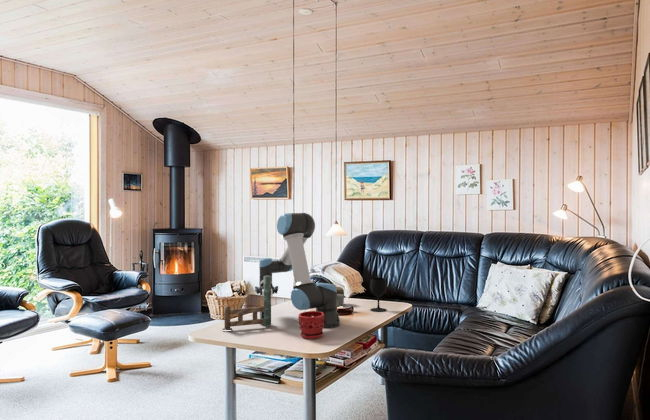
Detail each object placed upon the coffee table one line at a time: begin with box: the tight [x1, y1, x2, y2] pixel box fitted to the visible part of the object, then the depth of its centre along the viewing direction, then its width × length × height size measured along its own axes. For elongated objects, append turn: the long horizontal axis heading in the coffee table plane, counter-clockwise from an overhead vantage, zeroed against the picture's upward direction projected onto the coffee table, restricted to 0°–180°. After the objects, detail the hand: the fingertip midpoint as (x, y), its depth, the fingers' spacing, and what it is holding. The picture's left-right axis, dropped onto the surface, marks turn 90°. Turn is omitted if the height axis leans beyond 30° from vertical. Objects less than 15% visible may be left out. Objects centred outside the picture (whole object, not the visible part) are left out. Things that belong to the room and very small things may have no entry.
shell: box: [336, 286, 345, 296], centre depth 344 cm, size 11×11×12 cm
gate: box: [223, 276, 272, 329], centre depth 280 cm, size 26×4×27 cm, turn 111°
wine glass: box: [369, 277, 388, 313], centre depth 326 cm, size 10×10×20 cm
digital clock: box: [337, 294, 345, 307], centre depth 325 cm, size 16×9×11 cm, turn 86°
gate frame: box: [222, 312, 265, 331], centre depth 283 cm, size 5×27×8 cm, turn 127°
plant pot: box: [297, 310, 324, 340], centre depth 262 cm, size 13×13×12 cm
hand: (267, 293), depth 280 cm, fingers closed on gate, 4 cm apart
